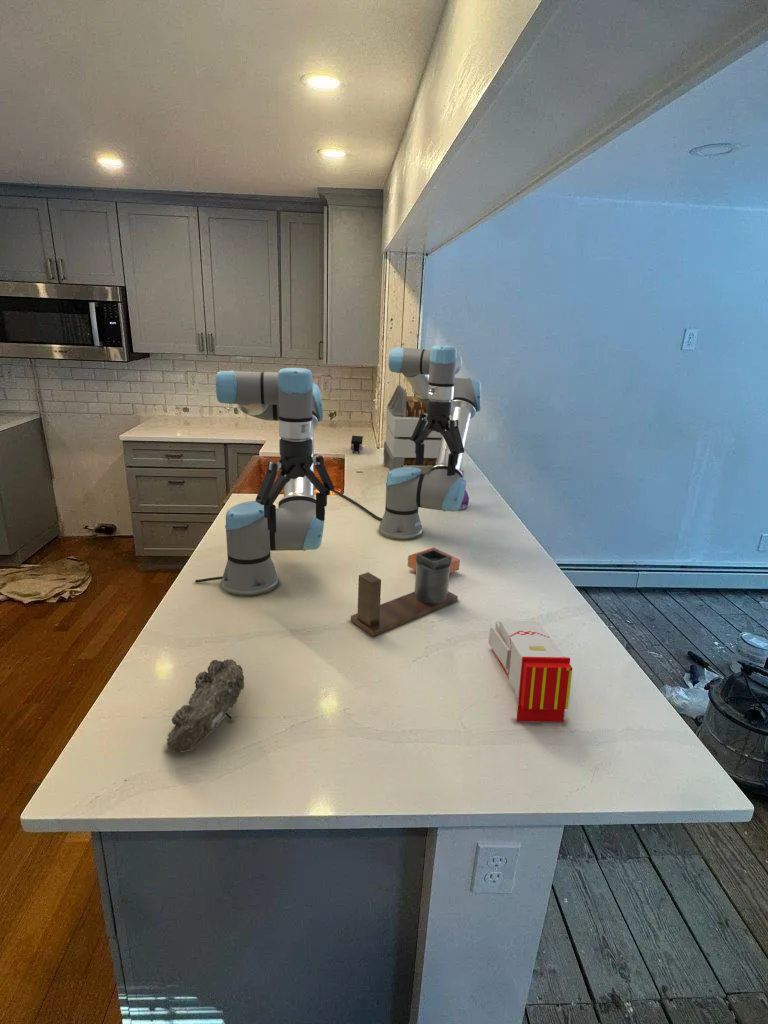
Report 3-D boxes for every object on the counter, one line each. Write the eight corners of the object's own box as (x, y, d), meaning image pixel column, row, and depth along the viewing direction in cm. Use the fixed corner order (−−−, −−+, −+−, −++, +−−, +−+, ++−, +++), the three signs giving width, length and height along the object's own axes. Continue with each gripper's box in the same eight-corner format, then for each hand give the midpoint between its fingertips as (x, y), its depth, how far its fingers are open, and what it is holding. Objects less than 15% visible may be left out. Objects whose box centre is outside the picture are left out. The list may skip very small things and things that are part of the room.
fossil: (192, 660, 117) (244, 628, 112) (224, 691, 120) (276, 661, 115) (142, 746, 98) (202, 712, 93) (182, 779, 101) (242, 748, 96)
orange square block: (432, 584, 164) (434, 568, 162) (407, 571, 172) (408, 555, 170) (458, 574, 171) (460, 559, 169) (432, 562, 179) (433, 547, 177)
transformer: (382, 463, 289) (386, 382, 275) (445, 464, 293) (451, 384, 279) (390, 482, 257) (394, 392, 243) (460, 483, 261) (468, 394, 247)
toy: (535, 605, 135) (581, 664, 106) (530, 657, 138) (574, 728, 108) (484, 604, 135) (517, 662, 105) (480, 656, 137) (511, 727, 108)
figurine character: (362, 457, 305) (363, 447, 318) (362, 443, 301) (363, 434, 315) (350, 456, 304) (351, 447, 318) (350, 443, 301) (351, 434, 314)
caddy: (373, 636, 137) (375, 586, 132) (350, 621, 143) (351, 572, 139) (457, 601, 156) (461, 556, 151) (434, 588, 162) (437, 545, 157)
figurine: (455, 512, 224) (459, 475, 218) (441, 504, 232) (444, 468, 227) (475, 509, 228) (478, 473, 223) (460, 501, 236) (463, 466, 231)
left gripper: (254, 448, 119) (258, 541, 126) (349, 435, 134) (347, 519, 142) (238, 441, 124) (242, 530, 131) (330, 429, 140) (330, 510, 147)
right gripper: (402, 395, 173) (398, 462, 180) (463, 407, 155) (456, 481, 163) (419, 393, 178) (415, 459, 185) (481, 405, 160) (473, 477, 167)
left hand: (296, 524), depth 137 cm, fingers open, 13 cm apart
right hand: (434, 469), depth 174 cm, fingers open, 13 cm apart
